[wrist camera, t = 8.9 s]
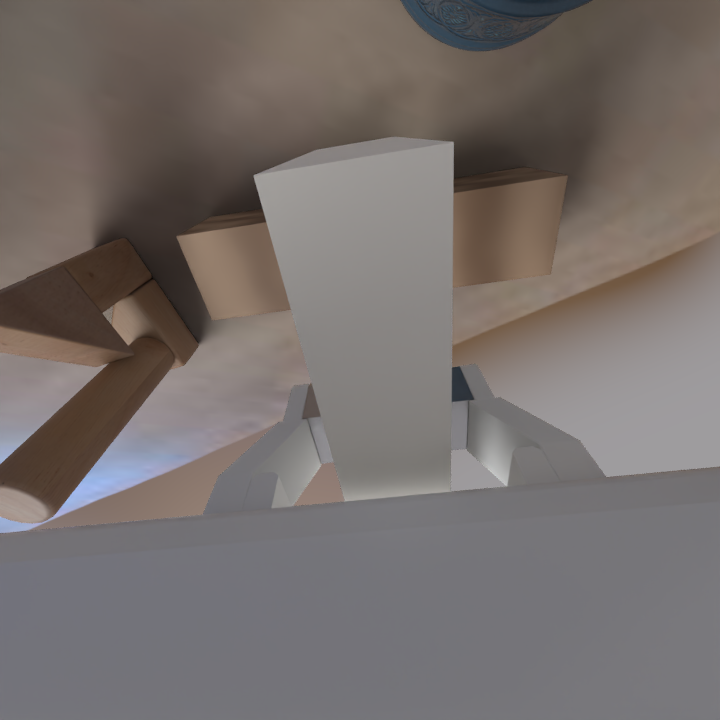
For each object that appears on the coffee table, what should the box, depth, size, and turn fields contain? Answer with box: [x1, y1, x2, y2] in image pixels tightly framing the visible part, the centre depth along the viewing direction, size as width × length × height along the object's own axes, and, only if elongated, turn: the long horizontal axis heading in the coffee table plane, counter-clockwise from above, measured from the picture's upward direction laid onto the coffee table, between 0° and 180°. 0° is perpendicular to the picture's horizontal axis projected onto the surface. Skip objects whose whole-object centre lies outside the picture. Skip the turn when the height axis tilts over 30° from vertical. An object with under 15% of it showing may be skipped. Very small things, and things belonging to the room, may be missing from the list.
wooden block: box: [0, 238, 199, 523], centre depth 23 cm, size 4×11×18 cm, turn 17°
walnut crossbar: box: [176, 167, 568, 321], centre depth 25 cm, size 24×6×6 cm, turn 98°
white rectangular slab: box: [253, 137, 454, 501], centre depth 11 cm, size 13×2×8 cm, turn 8°
